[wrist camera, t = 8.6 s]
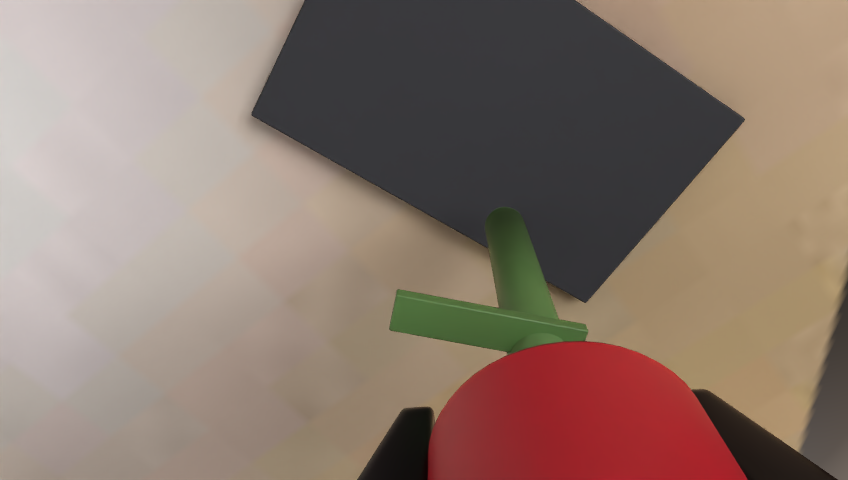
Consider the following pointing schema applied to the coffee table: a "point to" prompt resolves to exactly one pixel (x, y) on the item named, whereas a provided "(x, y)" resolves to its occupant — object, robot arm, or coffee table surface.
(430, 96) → the mat
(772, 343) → the coffee table surface
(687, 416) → the red rose
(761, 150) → the coffee table surface
